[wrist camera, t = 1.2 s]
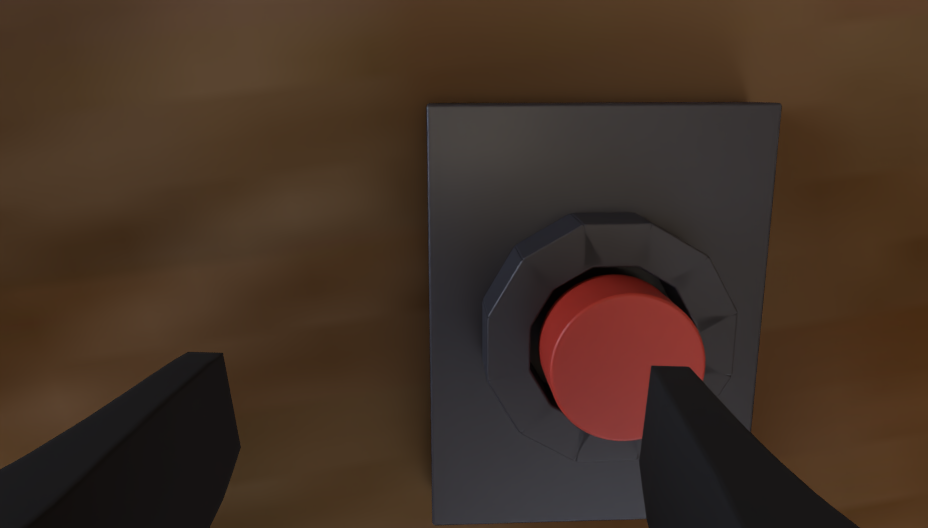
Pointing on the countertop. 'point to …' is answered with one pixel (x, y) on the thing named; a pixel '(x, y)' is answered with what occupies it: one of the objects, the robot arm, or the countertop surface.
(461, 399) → the control block
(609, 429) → the red push button
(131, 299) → the countertop surface
